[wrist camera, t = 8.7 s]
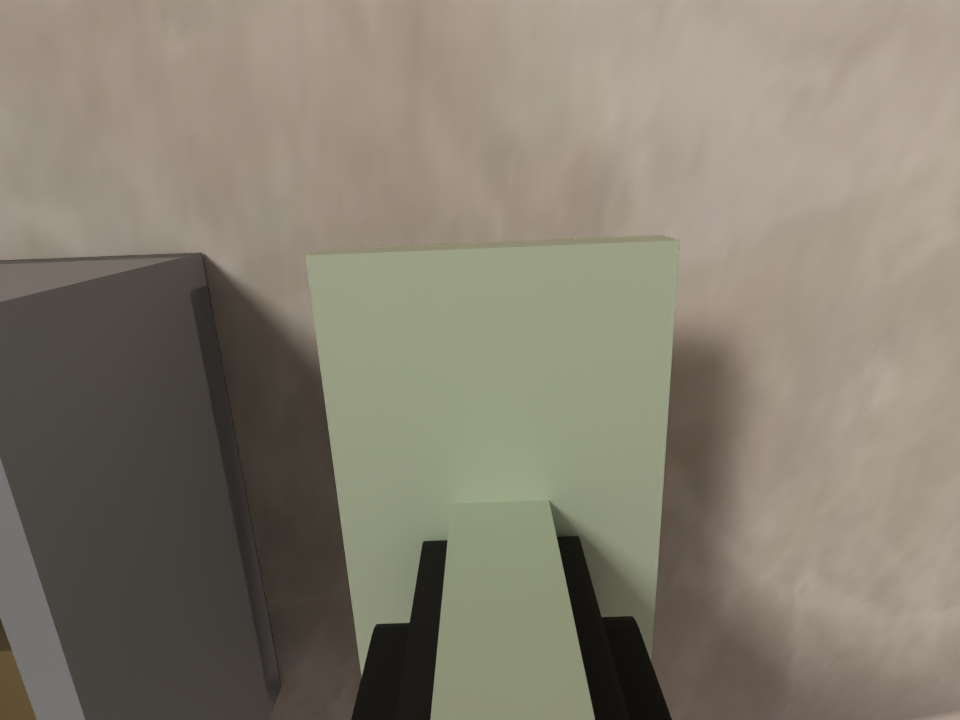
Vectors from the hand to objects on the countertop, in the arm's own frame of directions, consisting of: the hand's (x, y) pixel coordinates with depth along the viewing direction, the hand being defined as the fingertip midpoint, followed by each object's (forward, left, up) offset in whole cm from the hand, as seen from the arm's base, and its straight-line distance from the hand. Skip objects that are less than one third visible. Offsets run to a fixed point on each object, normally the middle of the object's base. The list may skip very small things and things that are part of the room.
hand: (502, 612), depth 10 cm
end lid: (0, 0, -1) cm, 1 cm away
